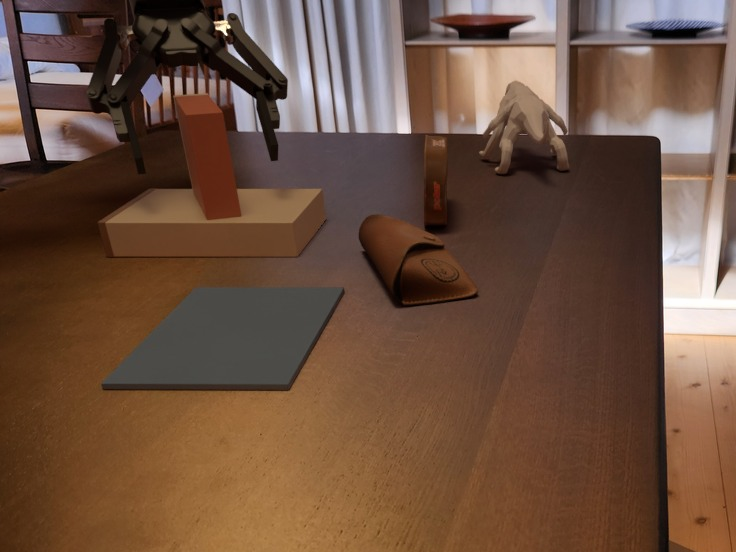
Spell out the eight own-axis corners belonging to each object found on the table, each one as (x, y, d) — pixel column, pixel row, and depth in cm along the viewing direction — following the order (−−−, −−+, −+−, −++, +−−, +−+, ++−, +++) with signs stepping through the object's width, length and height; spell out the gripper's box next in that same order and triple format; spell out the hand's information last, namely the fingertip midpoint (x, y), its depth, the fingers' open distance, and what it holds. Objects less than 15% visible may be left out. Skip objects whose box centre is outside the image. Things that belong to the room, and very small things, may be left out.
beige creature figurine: (551, 147, 135) (551, 75, 129) (593, 186, 115) (596, 102, 109) (473, 151, 133) (470, 78, 127) (501, 192, 113) (499, 107, 107)
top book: (206, 220, 90) (184, 114, 85) (193, 193, 100) (173, 95, 94) (242, 216, 92) (223, 111, 86) (226, 190, 101) (207, 93, 95)
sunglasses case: (485, 291, 81) (445, 231, 77) (424, 337, 81) (381, 280, 77) (436, 237, 95) (400, 184, 91) (384, 277, 95) (346, 226, 91)
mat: (102, 389, 66) (100, 383, 65) (196, 292, 83) (195, 286, 83) (288, 390, 65) (287, 384, 65) (344, 292, 82) (344, 286, 82)
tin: (426, 200, 110) (421, 127, 105) (451, 200, 110) (447, 127, 105) (423, 236, 97) (417, 155, 92) (452, 235, 97) (447, 154, 93)
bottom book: (106, 257, 92) (97, 222, 90) (156, 220, 104) (149, 188, 102) (297, 257, 91) (292, 222, 89) (326, 220, 103) (322, 188, 101)
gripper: (277, 7, 103) (324, 168, 100) (44, 17, 95) (87, 193, 92) (278, -47, 96) (329, 126, 93) (26, -40, 88) (73, 148, 85)
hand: (209, 160), depth 92 cm, fingers open, 13 cm apart
